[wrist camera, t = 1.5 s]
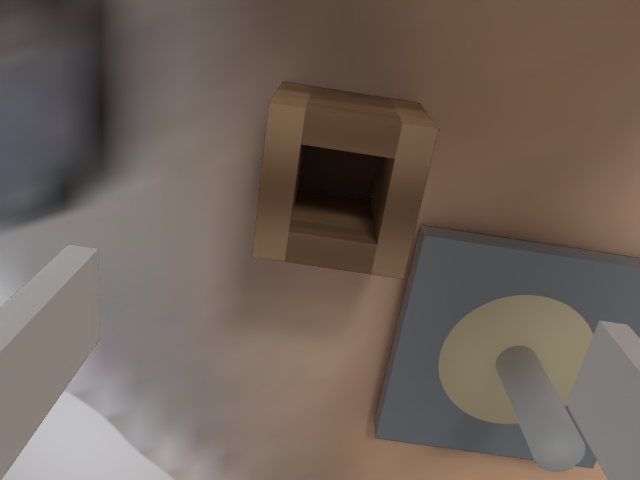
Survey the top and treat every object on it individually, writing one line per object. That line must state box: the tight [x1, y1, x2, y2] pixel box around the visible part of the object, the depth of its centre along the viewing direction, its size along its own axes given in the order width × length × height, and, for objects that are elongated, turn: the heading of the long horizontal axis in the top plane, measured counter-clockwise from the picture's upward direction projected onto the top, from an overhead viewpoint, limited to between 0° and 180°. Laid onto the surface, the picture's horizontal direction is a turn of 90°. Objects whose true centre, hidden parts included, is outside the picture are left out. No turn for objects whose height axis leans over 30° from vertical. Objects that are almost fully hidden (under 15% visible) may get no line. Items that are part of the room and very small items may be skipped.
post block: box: [374, 225, 640, 471], centre depth 30 cm, size 14×14×8 cm
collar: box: [252, 82, 438, 279], centre depth 27 cm, size 7×7×6 cm
